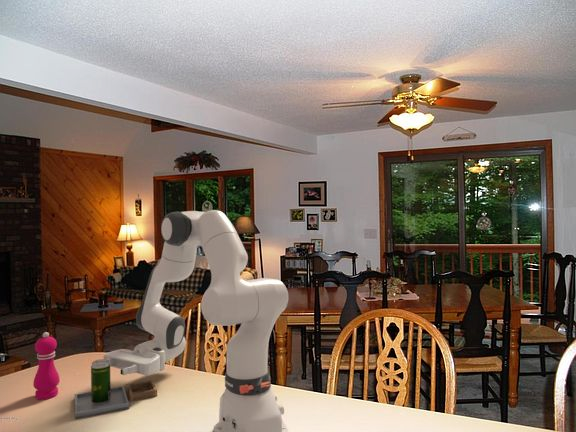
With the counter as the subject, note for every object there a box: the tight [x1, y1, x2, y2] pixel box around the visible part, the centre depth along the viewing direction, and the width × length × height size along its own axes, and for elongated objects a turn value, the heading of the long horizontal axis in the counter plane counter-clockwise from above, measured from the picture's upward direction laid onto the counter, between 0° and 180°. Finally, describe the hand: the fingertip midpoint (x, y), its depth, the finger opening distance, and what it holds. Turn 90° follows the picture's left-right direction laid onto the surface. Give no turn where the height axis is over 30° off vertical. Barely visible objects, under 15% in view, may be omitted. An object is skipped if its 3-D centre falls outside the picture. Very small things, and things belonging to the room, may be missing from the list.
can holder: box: [126, 380, 158, 402], centre depth 140 cm, size 8×8×2 cm
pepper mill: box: [33, 331, 60, 401], centre depth 138 cm, size 7×7×20 cm
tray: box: [74, 385, 130, 420], centre depth 132 cm, size 14×14×2 cm
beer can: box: [90, 358, 112, 405], centre depth 132 cm, size 5×5×12 cm
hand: (111, 369), depth 136 cm, fingers open, 8 cm apart
